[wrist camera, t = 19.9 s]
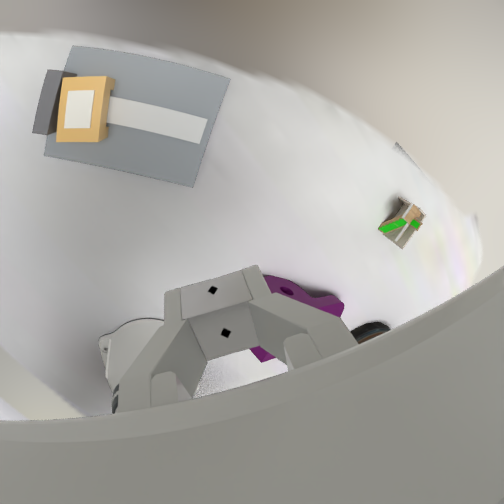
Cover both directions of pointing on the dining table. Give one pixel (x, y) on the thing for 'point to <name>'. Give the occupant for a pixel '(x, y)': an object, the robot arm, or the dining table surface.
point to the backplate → (139, 114)
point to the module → (84, 109)
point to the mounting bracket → (298, 294)
